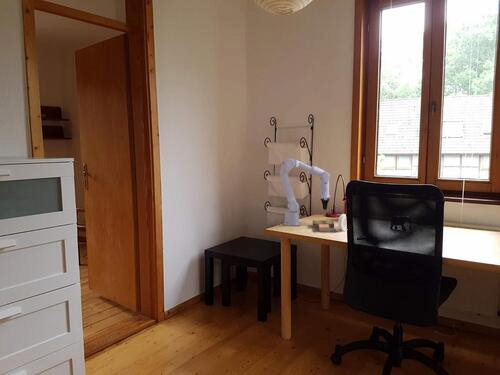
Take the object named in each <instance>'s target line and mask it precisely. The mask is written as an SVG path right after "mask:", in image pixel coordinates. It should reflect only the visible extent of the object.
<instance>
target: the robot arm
mask: <svg viewBox="0 0 500 375" xmlns="http://www.w3.org/2000/svg"><path fill="white" fill-rule="evenodd" d="M293 168H300V169H304V170H306V171H308V173H309V174H310V175H312V176H314V177H317V178H319V179H320V186H319V189H320V191H319V192H320V201H321V205H322V209H323V210H325V211H326V210H327V209H328V204H329V201H330V198H332V195H330V178H331V175H330V173H329V172H328V171H326V170H325V169H324V168H322V169H321V168H320V167H318V166H317V165H311V166H310V165H308V164H306V163H304V162H302V161H300V160H297V159H294V158H289V157H288V158H287V157H286V158H285V159H283V161H282V162H281V167H280V171H279V174H280V178H281V182H282V185H283V189H284V192H285V195H286V198H287V199H286V200H287V208H288V210H287V211H284V226H285V227H286V226H289V227H290V226H300V224H301V223H300V212H299V211H300V210H299V209H300V205H299V203H298V201H297V200H296V197H295V195H294V191H293V187H292V185H291V181H290V177H289V173H290V172H291V170H292V169H293Z"/></svg>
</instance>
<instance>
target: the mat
mask: <svg viewBox="0 0 500 375" xmlns="http://www.w3.org/2000/svg"><path fill="white" fill-rule="evenodd" d="M329 229H330V231H319V228H313V227H312V232H313V233H338V231H337V229H336V228H335V227H334V228H329Z"/></svg>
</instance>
